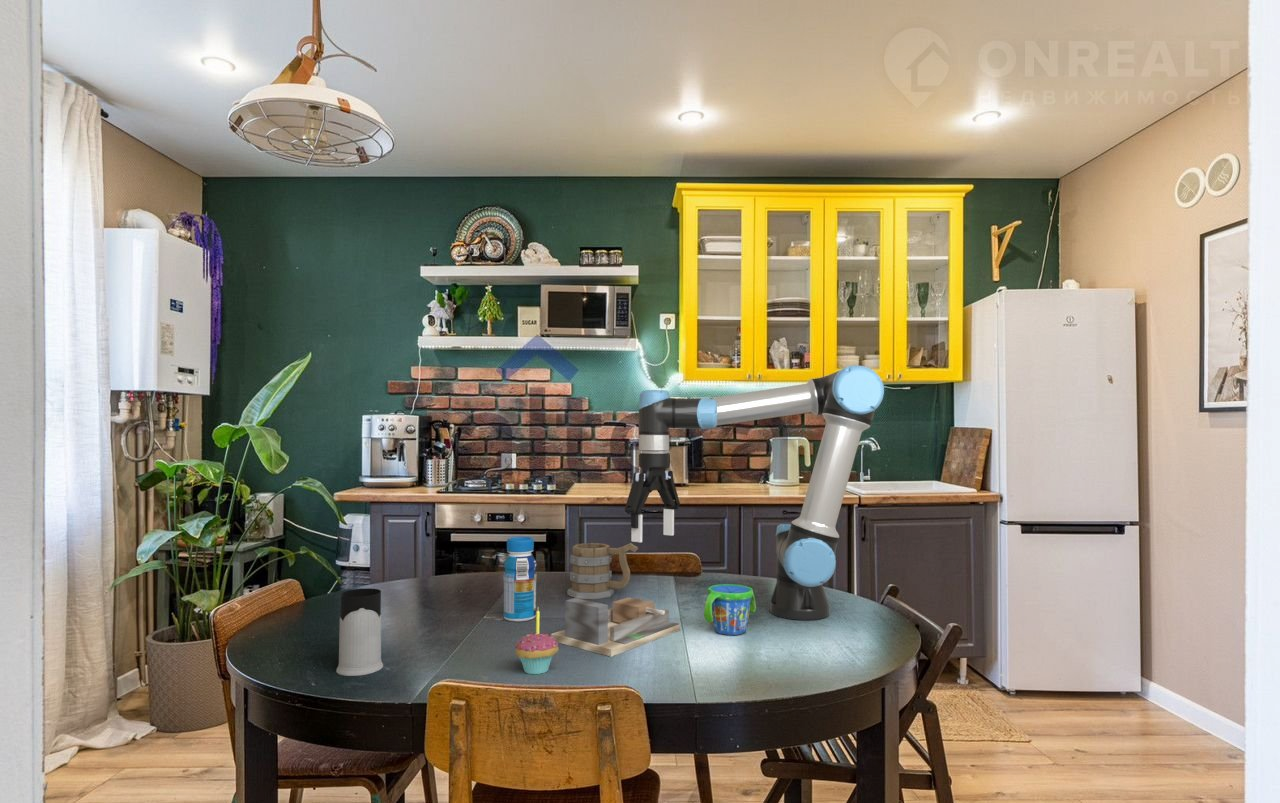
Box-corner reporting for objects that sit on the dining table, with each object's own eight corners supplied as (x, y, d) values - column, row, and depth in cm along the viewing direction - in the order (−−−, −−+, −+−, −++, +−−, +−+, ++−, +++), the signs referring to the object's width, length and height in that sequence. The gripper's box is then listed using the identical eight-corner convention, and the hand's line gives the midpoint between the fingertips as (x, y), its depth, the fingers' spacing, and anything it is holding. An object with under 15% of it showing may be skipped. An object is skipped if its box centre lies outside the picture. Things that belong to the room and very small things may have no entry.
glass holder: (336, 678, 136) (337, 599, 136) (335, 656, 149) (337, 584, 149) (384, 672, 139) (385, 595, 140) (380, 651, 152) (381, 580, 153)
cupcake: (517, 663, 144) (517, 604, 145) (559, 662, 145) (559, 603, 145) (513, 678, 136) (513, 615, 136) (557, 677, 136) (558, 614, 137)
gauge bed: (680, 630, 168) (680, 589, 168) (611, 656, 149) (611, 611, 149) (622, 617, 179) (622, 579, 180) (550, 640, 160) (551, 598, 160)
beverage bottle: (496, 620, 177) (496, 539, 177) (514, 612, 184) (515, 535, 185) (525, 623, 173) (526, 541, 174) (542, 615, 181) (543, 537, 182)
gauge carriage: (671, 625, 165) (671, 605, 166) (655, 631, 161) (655, 610, 161) (628, 616, 173) (628, 597, 174) (612, 621, 169) (612, 601, 169)
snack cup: (740, 621, 176) (740, 580, 176) (770, 632, 167) (770, 588, 167) (690, 631, 167) (690, 588, 167) (719, 643, 158) (719, 597, 159)
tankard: (563, 598, 199) (564, 545, 200) (575, 588, 212) (575, 538, 212) (633, 601, 196) (633, 547, 197) (641, 591, 208) (641, 540, 209)
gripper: (669, 450, 188) (668, 531, 187) (610, 453, 168) (609, 543, 167) (693, 451, 183) (693, 533, 182) (635, 453, 163) (635, 546, 162)
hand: (653, 538), depth 175 cm, fingers open, 13 cm apart
